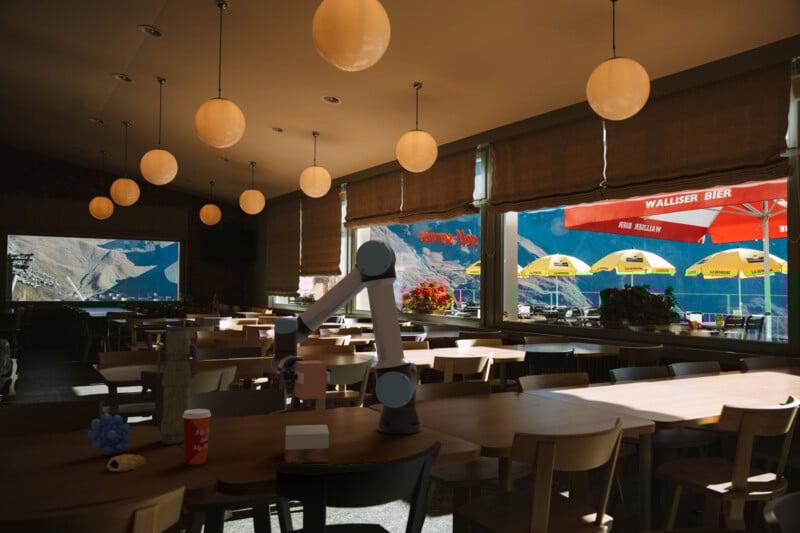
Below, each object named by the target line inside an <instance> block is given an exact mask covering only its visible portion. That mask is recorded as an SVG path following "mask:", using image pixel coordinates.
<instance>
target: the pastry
mask: <svg viewBox="0 0 800 533" xmlns="http://www.w3.org/2000/svg"><path fill="white" fill-rule="evenodd" d="M144 465H146V457H144V456H141V455H140V454H135V455H134V454H127V453H126V454H125V453H124V454H121V455H116V456H113V457H111V458H110V459H109V461H108V463H107V466H106V468H107V469H108V471H111V472H118V473H123V472H129V471H130V470H136V469H139V468H141V467H143V466H144Z"/></svg>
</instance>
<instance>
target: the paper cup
mask: <svg viewBox="0 0 800 533" xmlns="http://www.w3.org/2000/svg"><path fill="white" fill-rule="evenodd" d="M211 416H212V413H211V411H210V409H206V408H196V409H195V408H193V409H190V410H187V411H184V414H183V416H182V417H183V422H184V443H183V445H184V446H183V447H184V462H185V465H189V466H196V465H197V466H198V465H202V464H206V463H205V462H207V458H208V448H209V434H210V422H211Z"/></svg>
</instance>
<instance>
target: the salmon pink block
mask: <svg viewBox="0 0 800 533" xmlns="http://www.w3.org/2000/svg"><path fill="white" fill-rule="evenodd" d="M326 368H327V362H324V361H321V360H304V361H296V365H295V371H298V372H301V373H303V374H304V384H301V383H299V382H297V381H295V382H294V397H296V398H298V399H300V400H304V401H305V400H315V399H316V400H317V399H326V398H327V397H326V394H327V391H326V390H327V389H326V388H327V387H326V385H327V382H326Z"/></svg>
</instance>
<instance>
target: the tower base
mask: <svg viewBox="0 0 800 533" xmlns="http://www.w3.org/2000/svg"><path fill="white" fill-rule="evenodd" d="M284 454H285V455H284V462H285V461H291V462H293V463H319V462H320V463H323V462H325V463H326V462H328V463H329V460H330V459H329V458H330V447H329V448H319V449H290V450H285V449H284Z"/></svg>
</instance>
